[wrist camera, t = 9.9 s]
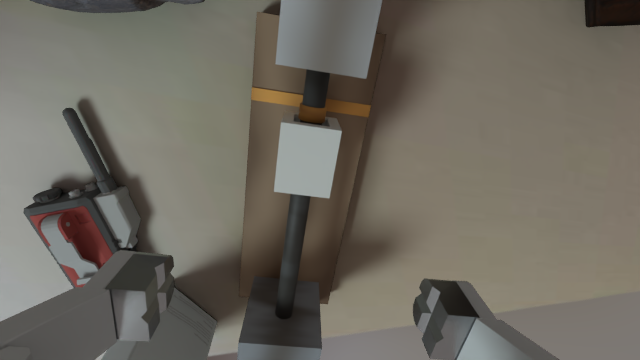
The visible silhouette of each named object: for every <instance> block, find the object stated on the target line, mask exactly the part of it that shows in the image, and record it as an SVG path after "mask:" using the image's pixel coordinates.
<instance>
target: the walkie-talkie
mask: <svg viewBox="0 0 640 360" xmlns="http://www.w3.org/2000/svg"><path fill="white" fill-rule="evenodd" d="M63 116H64V118H65V120H66V122H67V124H68V126H69V128H70V129H71V131H72V133H73V135H74V137H75V139H76V141H77V143H78V145H79V147H80V149H81V150H82V152H83V154H84V156H85V158H86V160H87V162H88V164H89V166H90V168H91V169H92V171H93V173H94V175H95V177H96V179H97V185H98V186H96V185H95V183H90V184H87V185H85V188H86V190H81V191H80V190H79V189H75V190H72V191H70V192H69V193H65V194H61V193H62V191H61V189H60V188H53V189H49V190H46V191H43V192H41V193H38V194H36V195H35V196H34V197H33V200H34V201H35V203H33V204H31V205H29V206H28V207H26V208H24V214H25V216H26V217H27V219H28V220H29V222H30V223H31V225H32V226H33V228H34V229H35V231H36V232H37V234H38V235H39V237H40V238H41V240H42V241H43V243H44V244H45V246H46V247H47V249H48V250H49V251H50V252H51V255H52V256H53V257H54V259H55V260H56V261H57V264H59V266H60V268H61V269H62V271H63V273H64V274H65V276H66V277H67V278H68V280H69V281H70V283H71V285H72V286H73V287H74V288H76V287H83V286H84V285H85V284H86V283H87V282H88V281H89V280H90V279H91V278H92V277H93V276H94V275H95V273H96V272H97V271H98V270H99V269H100V268H101V267H102V266H103V265H104V264H105V263H106V262H107V261H108V260H109V259H110V258H111V256H112V255H113V254H114V253H115V252H117V251H120V250H125V251H134V252H137V251H136V243H137V242H138V240H137V238H136V234H137V231H138V228H139V224H140V221H141V219H140V217H139V214H138V212H137V210H136V208H135V206H134V204H133V202H132V200H131V198H130V196H129V191H128V189H127V187H126V186H122V187H117V186H116V184H115V182H114V180H113V178H112V177H110V176H109V174H108V172H107V170H106V168H105V166H104V164H103V162H102V160H101V158H100V156H99V154H98V152H97V150H96V148H95V146H94V144H93V142H92V140H91V139H90V138H89V137H88V135H87V133H86V131H85V129H84V127H83V125H82V123H81V121H80V119H79V117H78V115H77V113H76V111H75V110H74V109H73V108H66V109H64V110H63Z"/></svg>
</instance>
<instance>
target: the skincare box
mask: <svg viewBox="0 0 640 360" xmlns="http://www.w3.org/2000/svg"><path fill="white" fill-rule="evenodd" d="M216 325H217V321H216V320H215V319H213V318H212V317H211V316H210V315H208V314H207V313H206V312H205V311H203V310H202V309H201V308H200V307H198V306H197V305H196V304H195V303H193V302H192V301H191V300H190V299H188V298H187V297H186V296H185V295H183V294H182V293H181V292H180V291H178V290H177V289H176V288H175V287H174V292H173V295H172V298H171V302H170V304H169V306H168V308H167V309H166V310H165V311H163V312H162V313H160V323H159V325H158V326H157V328H156V330H155V332H154V334H153V336H152V338H151V339H150V341H124V340H117V342H116V343H115V344H114V345H113V346H111V347H110V348H109V349H108V350H107V351H106V353H105V355H104V356H103V358H102V359H101V360H207V356H208V353H209V349H210V346H211V342H212V339H213V335H214V332H215V328H216Z"/></svg>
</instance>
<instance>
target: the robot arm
mask: <svg viewBox="0 0 640 360" xmlns="http://www.w3.org/2000/svg"><path fill="white" fill-rule="evenodd" d="M173 267H174V262H173V257H172V256H171V255H163V254H154V253H145V252H134V251H125V250H120V251H117V252H115V253H114V254H113V255H112V256H111V258H110V259H109V260H108V261H107V262H106V263H105V264H104V265H103V266H102V267H101V268H100V269H99V270H98V271H97V272H96V273H95V275H94V276H93V277H92V278H91V279H90V280H89V281H88V282H87V283H86V284H85V285H84V286H83V287H76V288H73V289H71V290H69V291H67V292H65V293H62V294H60V295H58V296H56V297H54V298H51V299H49V300H47V301H45V302H43V303H40V304H38V305H36V306H34V307H32V308H29V309H27V310H25V311H23V312H21V313H19V314H16V315H14V316H12V317H10V318H8V319H5V320H3V321H1V322H0V360H95V359H96V358H97V357H98V356H100V355H101V354H102V353H104V352H105V351H106V350H107V349H109V348H110V347H111V346H113V345H114V344H115V343H116V342H117V340H124V341H150V339H151V338H152V336H153V334H154V332H155V330H156V328H157V326H158V325H159V323H160V313H162V312H163V311H165V310H166V309H167V308H168V306H169V304H170V302H171V298H172V295H173V292H174V277H173V276H172V275H171V273H170V272H171V270H172V269H173ZM419 288H420V290H421V292H422V293H421V294H420V295H419V296H417V297H416V298H415V301H414V304H413V317H414V321H415V324H416V326H417V328H418V329H419V330H420V331H421V332H423V333H424V335H423V338H422V341H423V343H424V346H425V348H426V351H427V353H428V355H429V358H430V359H442V360H559V359H558V358H556V357H555V356H553V355H552V354H550V353H549V352H548V351H546V350H545V349H543V348H542V347H540V346H539V345H537V344H536V343H534V342H533V341H531V340H530V339H529V338H527V337H526V336H524V335H523V334H521V333H520V332H518V331H517V330H515V329H514V328H512V327H511V326H510V325H508V324H507V323H505V322H504V321H502V320H497V319H496V318H495V316H494V315H493V313H492V312H491V311H490V309H489V308H488V307H487V305H486V304H485V302H484V301H483V300H482V298H481V297H480V296H479V294H478V293H477V291H476V290H475V289H474V287H473V286H472V285H471V284H470V283H469V282H467V281H448V280H437V279H425V278H424V279H423V281H422V282H421V284H420V287H419Z"/></svg>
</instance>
